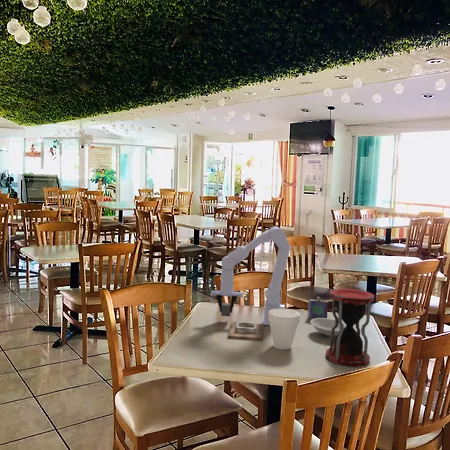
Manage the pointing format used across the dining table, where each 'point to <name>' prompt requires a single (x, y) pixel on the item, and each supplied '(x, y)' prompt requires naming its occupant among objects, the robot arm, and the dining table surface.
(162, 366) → the dining table surface
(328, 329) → the dish
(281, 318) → the cup
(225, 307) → the grey matte cube
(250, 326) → the dock
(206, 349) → the dining table surface
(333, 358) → the hourglass
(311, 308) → the flask
